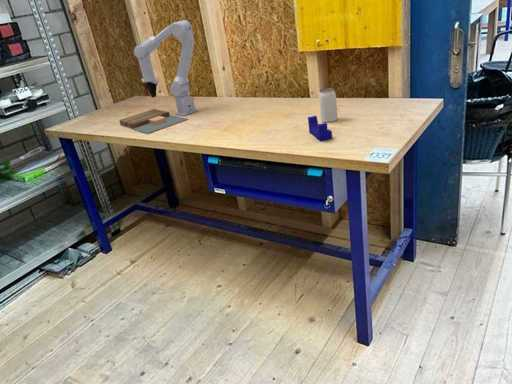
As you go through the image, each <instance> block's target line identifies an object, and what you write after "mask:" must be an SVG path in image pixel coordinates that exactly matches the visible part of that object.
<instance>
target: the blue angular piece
mask: <svg viewBox="0 0 512 384" xmlns="http://www.w3.org/2000/svg"><path fill="white" fill-rule="evenodd" d="M307 122H308V131H309V132H308V133H309V134H310V135H312V136H313V137H314V138H315V139H316V140H317V141H319V142H324V141H325V142H326V141H329V140H333V131H332V130H331V129H328V123H325V122H322V123H319V121H318V116H317V115H312V116H308V117H307Z"/></svg>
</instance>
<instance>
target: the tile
mask: <svg viewBox="0 0 512 384" xmlns="http://www.w3.org/2000/svg"><path fill="white" fill-rule="evenodd" d="M148 120H149V123H150V124H153V125H158V124H161V123H164V122H167V121H166V117H162V116H157V117H154V118H151V119H148Z"/></svg>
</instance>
